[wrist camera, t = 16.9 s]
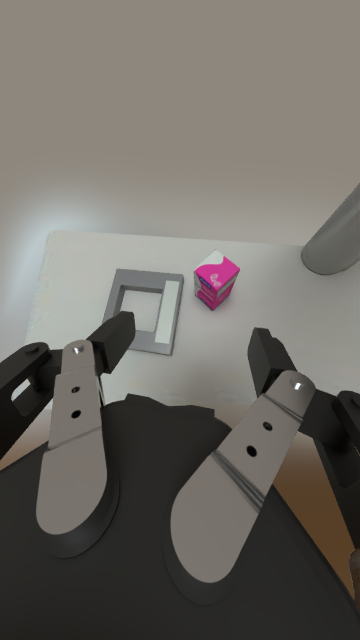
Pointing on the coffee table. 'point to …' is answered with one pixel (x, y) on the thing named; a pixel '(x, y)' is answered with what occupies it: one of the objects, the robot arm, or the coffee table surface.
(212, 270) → the supplement box
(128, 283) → the divided tray
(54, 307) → the coffee table surface
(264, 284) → the coffee table surface
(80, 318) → the coffee table surface
